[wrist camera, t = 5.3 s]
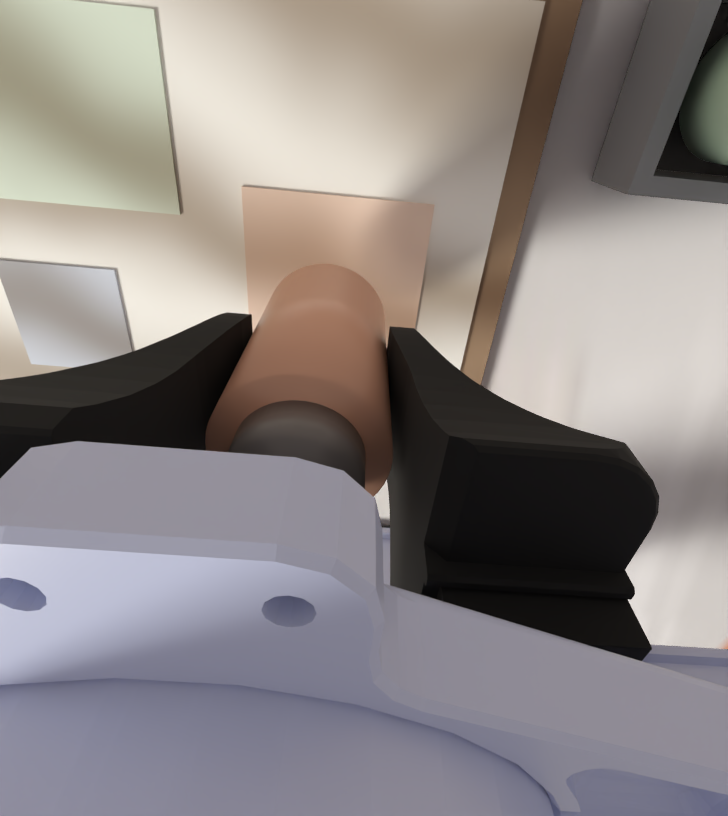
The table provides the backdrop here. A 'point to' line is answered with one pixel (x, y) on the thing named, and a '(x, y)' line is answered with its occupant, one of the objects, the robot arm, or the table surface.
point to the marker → (313, 379)
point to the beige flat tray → (264, 162)
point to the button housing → (659, 105)
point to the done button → (708, 107)
